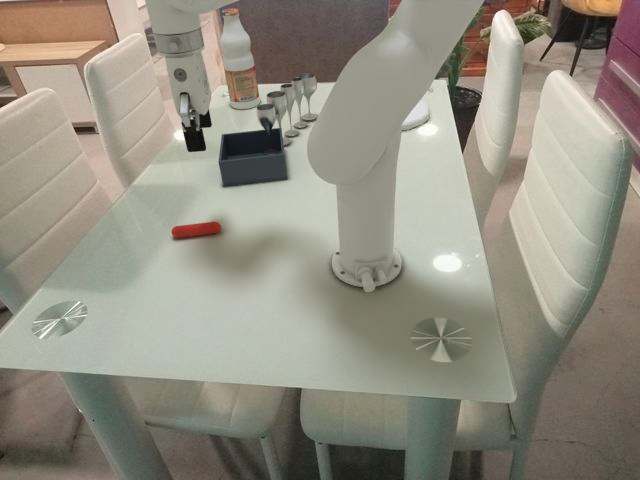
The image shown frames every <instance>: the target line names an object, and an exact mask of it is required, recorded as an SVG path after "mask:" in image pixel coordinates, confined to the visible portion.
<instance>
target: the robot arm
mask: <svg viewBox="0 0 640 480" xmlns="http://www.w3.org/2000/svg"><path fill="white" fill-rule="evenodd" d="M239 1H240V0H144V2H145V7H146V10H147V14H148V19H149V23H150V26H151V30H152V35H153V38H154V39H153V40H154V43H155V48H156V51H157V54H158V55H159V56H160V57H164V60H165V67H166V72H167V77H168V81H169V86H170V91H171V96H172V100H173V105H174V107H175V110H176V114H177V116H179V117H180V119H181V122H180V123H181V130H182V133H183V138H184V142H185V147H186V150H187V152H189V153H197V152H205V151H206V150H207V145H206V140H205V136H204V131H203V129H207V128H208V129H209V128H212V125H213V123H212V118H211V113H210V105H211V101H212V90H211V86H210V85H211V84H210V82H209V78H208V72H207V68H206V64H205V60H204V56H203V51H204V50H205V48H206V47H205V41H204V37H203V30H202V25H201V20H200V16H199V15H204V14H207V13H211V12H213V11H216V10H219V9H221V8H223V7H225V6H228V5H230V4H233V3H234V4H235V3H236V2H239ZM485 1H486V0H401V1H400V3H399V5H398V6H397V8H396V10H395V11H394V13H393V15H392V16H391V18H390V20H389V21H388V22H387V25H386V26H385V27H384V29H383V30H382V31H381V32H380V33H379V34H378V35H377V36H376V37H374V38H373V39H372V40H371V41H369V42H368V43H367V44H366V45H364V46H363V47H361V48H360V49H359V50H358V51H357V52H356V53H354V54H353V56H351V58H350V59H349V60H348V62H347V63H346V64H345V66H344V67H343V69H342V71H341V72H340V73H339V75H338V77H337V79H336V81H335V83H334V85H333V86H332V88H331V90H330V92H329V95H328V96H327V98H326V100H325V102H324V103H323V106H322V108H321V109H320V112H319V114H317V116H318V117H317V118H316V119H315V122H314V123H313V125H312V126H311V130H310V132H309V135H308V138H307V143H306V155H307V159H308V160H307V161H308V163H309V166H310V167H311V169H312V171H313V172H314V173H315V174H316V176H317V177H318V178H319V179H320V180H322V181H323V182H326V183H327V184H330V185H334V186H335V187H336V204H337V205H336V209H337V224H338V227H337V228H338V244H339V245H338V246H339V247H338V248H337V249H336V250H335V251H334V252H333V254H332V257H331V269H332V272H333V273H334V275H335V276H336V277H337V278H338V279H339V280H340V281H342V282H344V283H346V284H347V285H350V286H354V287H359V288H363V290H364V292H366V293H372V292H373V291H375V289H376V287H380V286H383V285H387V284H388V283H390V282H392V281H393V280H395V279H396V278H397V276H398V275H399V274H400V273H401V270H402V264H403V259H402V255H401V254H400V252H399V251H398V249H397V248H396V247H394V245H395V243H394V242H395V219H396V218H395V216H396V215H395V212H396V191H397V170H398V161H399V155H400V147H401V139H402V132H403V131H402V123H403V122H404V121H405V119H406V118H407V116H408V115H409V114H410V112H411V111H412V110H413V108H414V107H415V106H416V105H417V104H418V102H419V101H420V100H421V99H423V98H424V96H425V95H426V94H427V93H428V91H429V90H430V88H431V86H432V84H433V83H434V81H435V78H436V77H437V75H438V73H439V71H440V70H441V68H442V67H443V65H444V63H445V62H446V60H447V58H448V57H449V56H450V54H451V53H452V52H453V50H454V48H455V47H456V46H457V44H458V43H459V41H460V39H461V38H462V37H463V35H464V33H465V31H466V30H467V28H468V27H469V25H470V24H471V22H472V20H473V19H474V17H475V16H476V14H477V13H478V12H479V10H480V9H481V7H482V5H483V4H484V2H485Z"/></svg>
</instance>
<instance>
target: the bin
mask: <svg viewBox="0 0 640 480" xmlns="http://www.w3.org/2000/svg"><path fill="white" fill-rule="evenodd" d="M220 138H221V139H220V146H219V153H218V162H217V163H218V168H219V172H220V176H221V181H222V185H223V187H230V186H231V187H232V186H239V185H240V186H241V185H248V184H249V185H250V184H257V183H266V182H275V181H283V180H288V171H287V162H286V154H285V145H284V144H283V128H282V127H281V128H279V127H275V128H272V130H271V132H270V136H269V135H268V133H267V132H266V130H265V129H259V130H258V129H257V130H247V131H240V132H238V131H237V132H229V133H222V134H221V137H220ZM271 149H272V150H280V151H279V152H278V153H276V154H273V155H267V154H264V153H263V152H265V151H268V150H271Z"/></svg>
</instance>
